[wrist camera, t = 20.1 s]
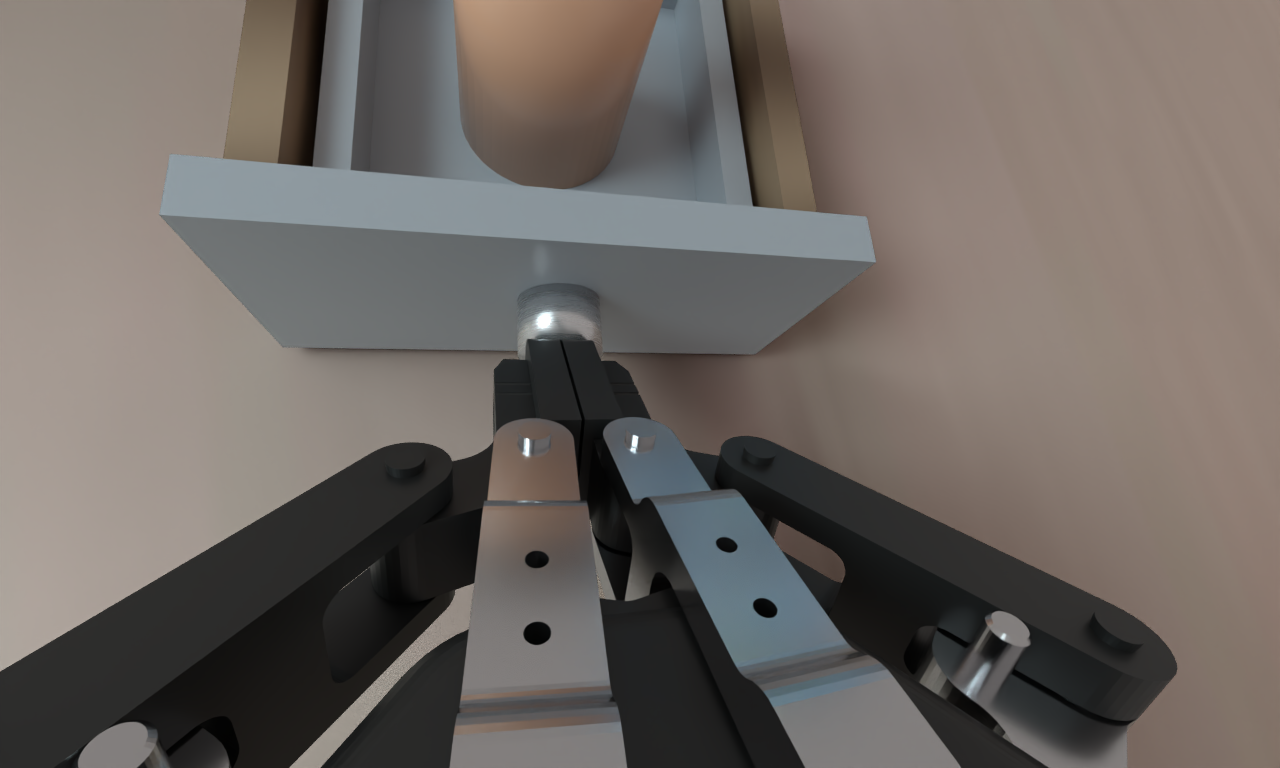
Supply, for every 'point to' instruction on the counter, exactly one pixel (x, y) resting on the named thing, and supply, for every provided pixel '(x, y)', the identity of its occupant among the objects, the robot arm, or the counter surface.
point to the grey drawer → (510, 212)
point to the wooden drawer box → (292, 66)
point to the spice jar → (549, 83)
